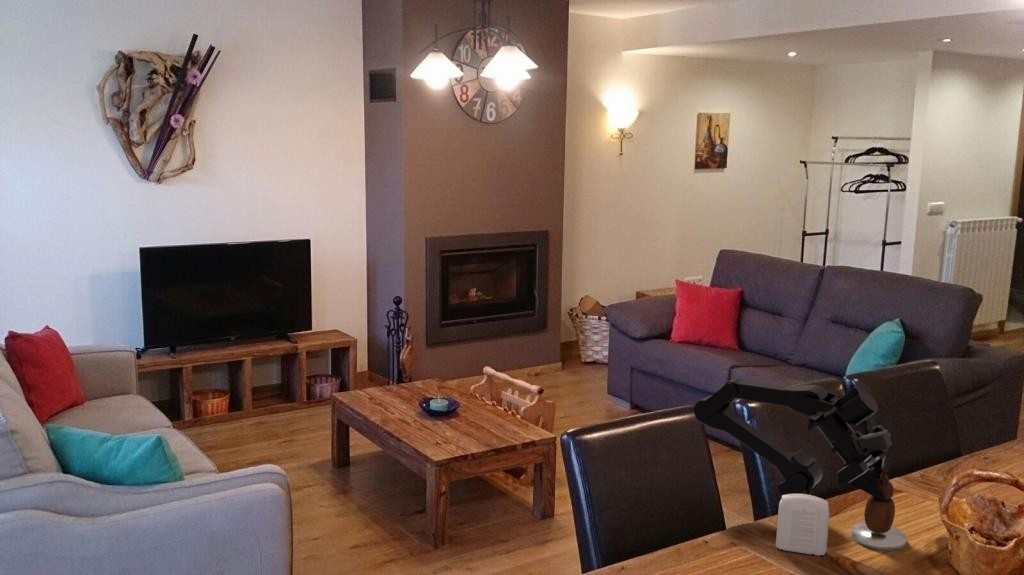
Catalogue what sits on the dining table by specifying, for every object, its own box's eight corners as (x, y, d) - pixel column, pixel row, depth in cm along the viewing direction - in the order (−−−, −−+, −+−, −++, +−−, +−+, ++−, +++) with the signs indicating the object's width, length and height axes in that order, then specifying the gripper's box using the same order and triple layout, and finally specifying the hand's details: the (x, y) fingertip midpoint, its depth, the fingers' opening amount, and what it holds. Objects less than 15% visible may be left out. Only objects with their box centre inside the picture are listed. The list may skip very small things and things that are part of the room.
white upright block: (826, 549, 192) (830, 494, 190) (826, 558, 188) (830, 502, 186) (775, 542, 195) (779, 488, 193) (775, 550, 191) (778, 495, 189)
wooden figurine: (887, 539, 192) (894, 472, 189) (859, 531, 196) (866, 465, 193) (896, 528, 197) (902, 463, 195) (869, 521, 201) (875, 457, 198)
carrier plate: (850, 545, 194) (851, 538, 193) (852, 525, 204) (852, 519, 203) (906, 554, 190) (907, 548, 189) (905, 533, 200) (905, 527, 199)
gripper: (856, 427, 187) (906, 491, 182) (882, 406, 202) (930, 465, 197) (815, 454, 193) (863, 517, 189) (843, 432, 208) (889, 490, 203)
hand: (888, 496), depth 194 cm, fingers closed on wooden figurine, 5 cm apart
